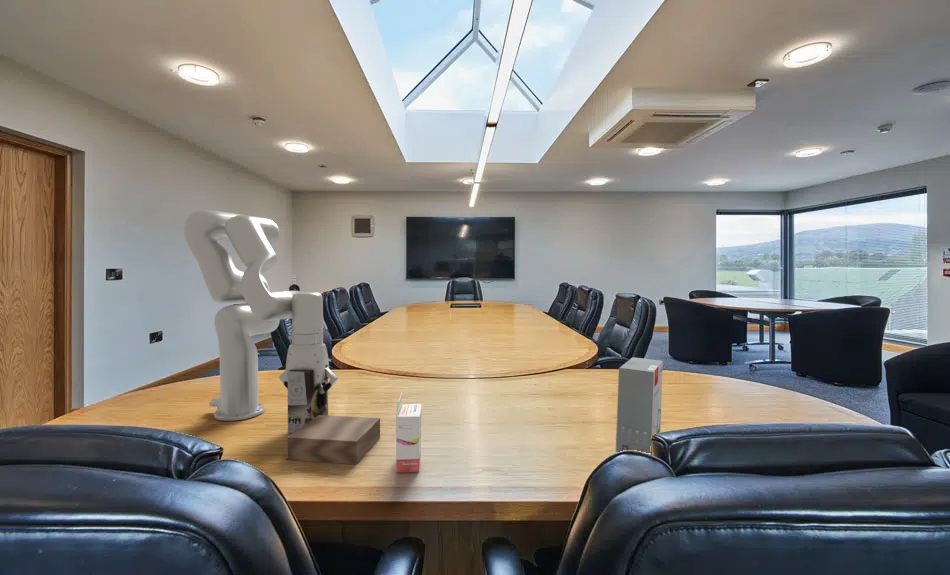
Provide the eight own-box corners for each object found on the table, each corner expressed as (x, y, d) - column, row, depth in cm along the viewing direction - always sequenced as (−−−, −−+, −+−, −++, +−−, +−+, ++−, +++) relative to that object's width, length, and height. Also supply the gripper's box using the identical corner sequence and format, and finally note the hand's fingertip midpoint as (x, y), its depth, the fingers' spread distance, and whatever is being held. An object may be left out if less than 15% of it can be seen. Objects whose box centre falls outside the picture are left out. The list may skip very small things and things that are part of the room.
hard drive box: (651, 462, 89) (653, 372, 88) (615, 454, 93) (616, 367, 92) (661, 438, 102) (663, 359, 101) (629, 432, 106) (630, 356, 106)
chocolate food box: (309, 435, 103) (308, 371, 102) (286, 433, 104) (286, 370, 103) (329, 422, 112) (329, 363, 111) (308, 420, 113) (307, 362, 112)
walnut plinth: (287, 459, 89) (286, 437, 89) (319, 434, 103) (319, 415, 103) (357, 464, 87) (356, 441, 87) (380, 438, 101) (380, 418, 101)
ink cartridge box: (420, 472, 84) (420, 402, 83) (395, 473, 84) (395, 402, 83) (422, 454, 93) (422, 390, 92) (399, 454, 92) (399, 390, 92)
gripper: (268, 340, 104) (269, 409, 105) (332, 342, 102) (333, 413, 103) (285, 336, 112) (286, 400, 112) (345, 337, 110) (346, 403, 110)
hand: (308, 406), depth 108 cm, fingers closed on chocolate food box, 6 cm apart
